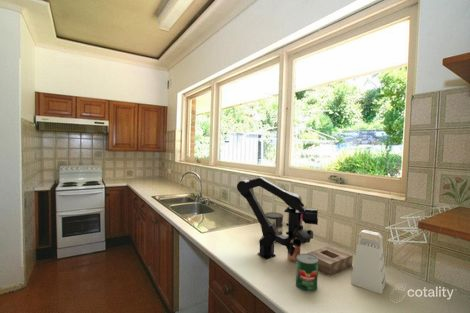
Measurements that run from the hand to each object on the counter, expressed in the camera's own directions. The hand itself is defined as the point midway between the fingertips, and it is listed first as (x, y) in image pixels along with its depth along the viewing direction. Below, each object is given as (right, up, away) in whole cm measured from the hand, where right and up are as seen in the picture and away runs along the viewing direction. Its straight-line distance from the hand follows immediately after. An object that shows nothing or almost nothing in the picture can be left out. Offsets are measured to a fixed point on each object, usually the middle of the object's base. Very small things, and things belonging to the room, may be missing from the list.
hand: (293, 255), depth 114 cm
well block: (+15, -3, -4) cm, 16 cm away
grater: (+25, -4, -18) cm, 31 cm away
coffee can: (-5, -1, +25) cm, 26 cm away
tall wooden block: (0, -2, 0) cm, 2 cm away
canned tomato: (0, -3, -21) cm, 22 cm away
